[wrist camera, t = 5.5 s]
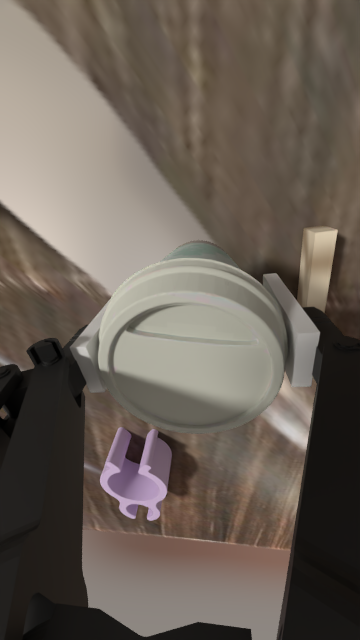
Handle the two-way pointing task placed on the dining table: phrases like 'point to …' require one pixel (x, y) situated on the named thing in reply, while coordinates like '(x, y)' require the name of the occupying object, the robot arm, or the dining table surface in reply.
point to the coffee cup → (193, 343)
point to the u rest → (316, 266)
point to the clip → (137, 474)
